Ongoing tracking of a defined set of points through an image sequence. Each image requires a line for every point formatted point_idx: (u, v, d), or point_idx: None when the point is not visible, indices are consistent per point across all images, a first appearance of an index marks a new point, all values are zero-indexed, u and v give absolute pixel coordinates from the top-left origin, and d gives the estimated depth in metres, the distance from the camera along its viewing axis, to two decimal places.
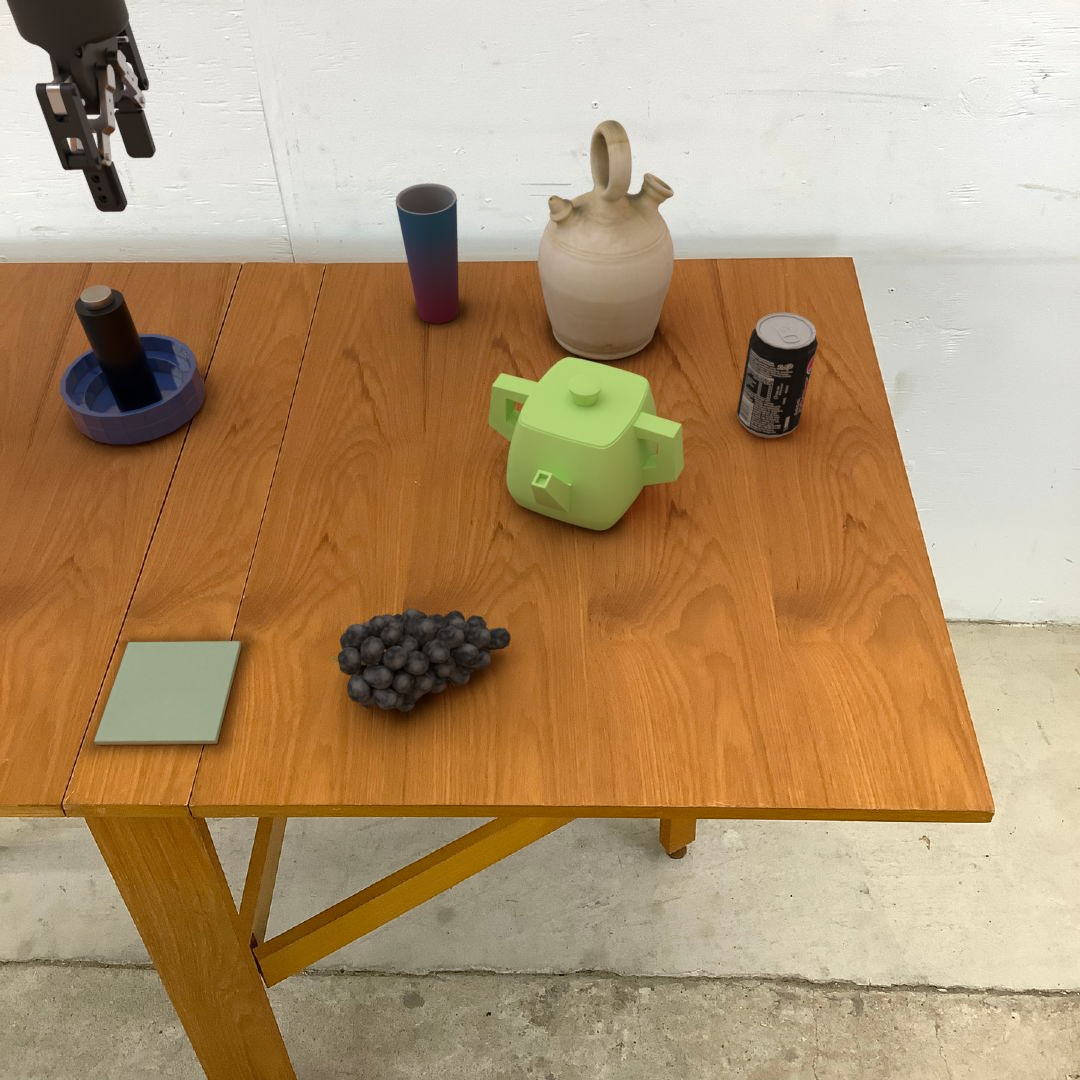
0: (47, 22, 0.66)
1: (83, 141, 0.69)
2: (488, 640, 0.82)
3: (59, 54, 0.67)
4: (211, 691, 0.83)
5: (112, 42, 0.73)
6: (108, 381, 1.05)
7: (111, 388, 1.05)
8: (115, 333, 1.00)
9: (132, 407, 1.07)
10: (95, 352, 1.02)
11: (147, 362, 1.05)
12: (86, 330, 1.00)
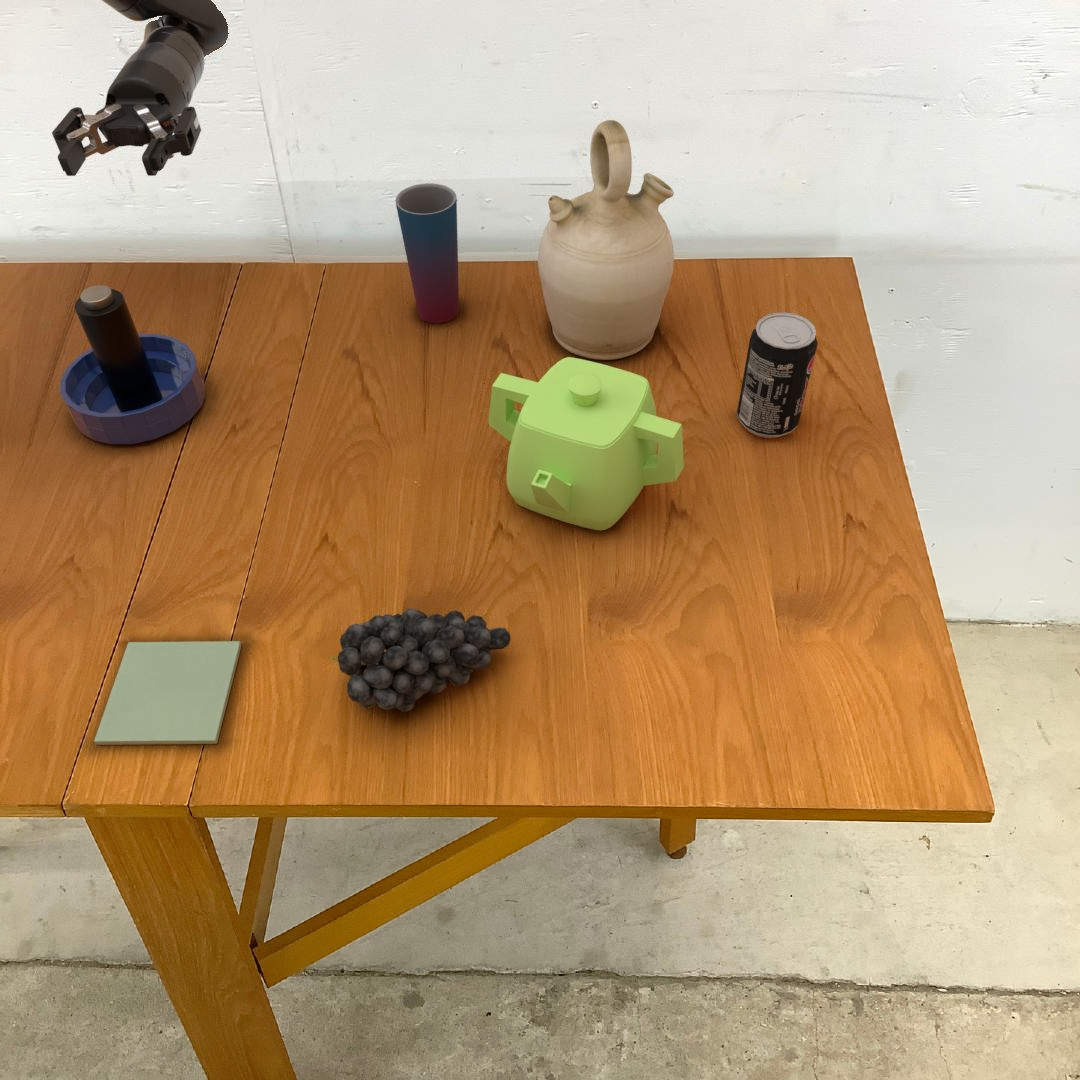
0: (178, 103, 1.09)
1: (194, 142, 1.05)
2: (488, 640, 0.82)
3: (173, 112, 1.07)
4: (211, 691, 0.83)
5: None
6: (108, 381, 1.05)
7: (111, 388, 1.05)
8: (115, 333, 1.00)
9: (132, 407, 1.07)
10: (95, 352, 1.02)
11: (147, 362, 1.05)
12: (86, 330, 1.00)
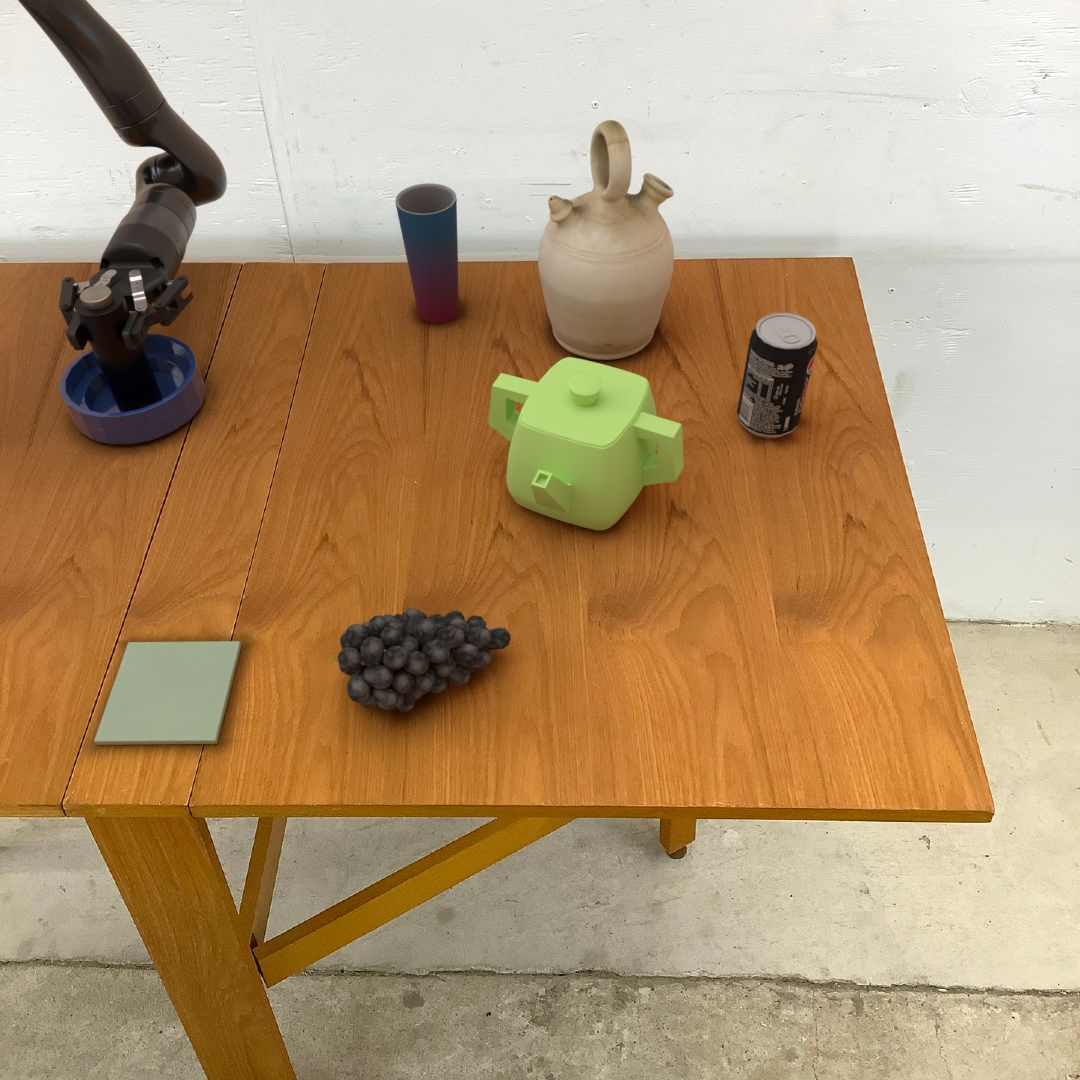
0: (173, 263, 1.09)
1: (178, 312, 1.05)
2: (488, 640, 0.82)
3: (168, 274, 1.08)
4: (211, 691, 0.83)
5: None
6: (107, 381, 1.05)
7: (111, 388, 1.05)
8: (115, 333, 1.00)
9: (132, 407, 1.07)
10: (95, 352, 1.02)
11: (147, 362, 1.05)
12: (86, 330, 1.00)
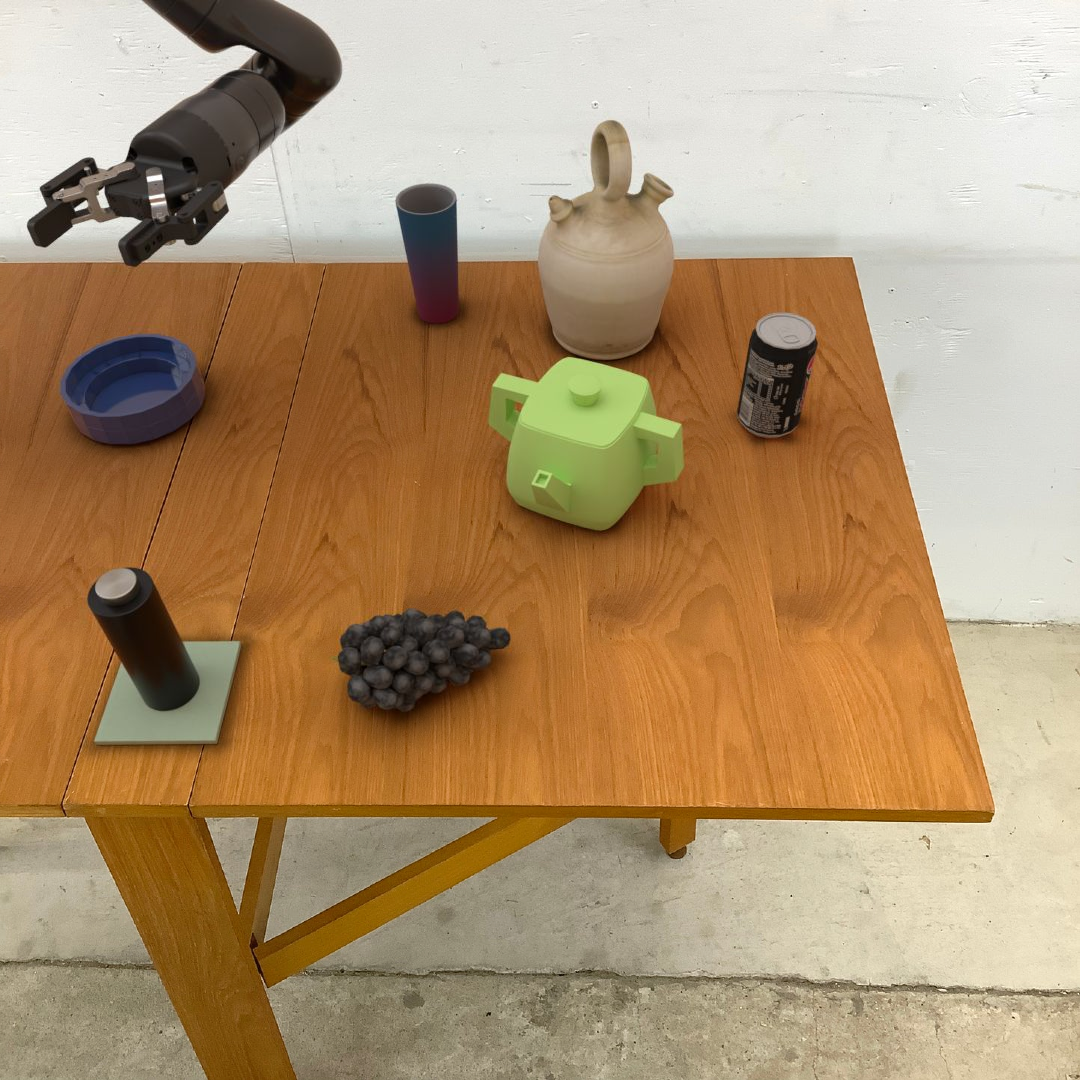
0: (215, 171, 0.83)
1: (208, 228, 0.79)
2: (488, 640, 0.82)
3: (201, 183, 0.82)
4: (211, 691, 0.83)
5: None
6: None
7: None
8: (131, 635, 0.74)
9: (152, 703, 0.81)
10: None
11: (179, 657, 0.79)
12: None
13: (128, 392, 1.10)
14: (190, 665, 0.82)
